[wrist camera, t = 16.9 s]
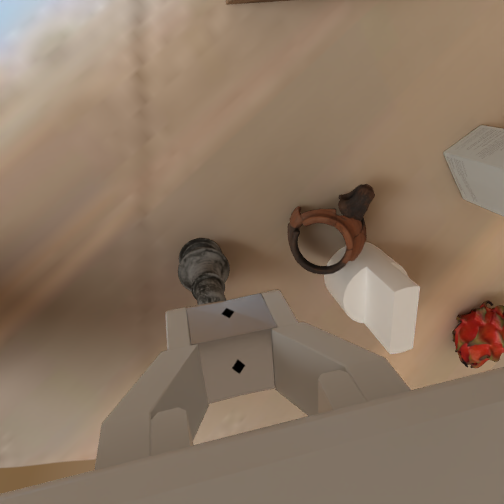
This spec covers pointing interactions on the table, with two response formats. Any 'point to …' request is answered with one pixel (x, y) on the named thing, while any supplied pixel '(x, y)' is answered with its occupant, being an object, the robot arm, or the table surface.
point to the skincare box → (480, 167)
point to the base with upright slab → (377, 296)
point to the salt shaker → (203, 270)
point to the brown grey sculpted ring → (347, 224)
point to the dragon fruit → (480, 335)
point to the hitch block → (249, 1)
